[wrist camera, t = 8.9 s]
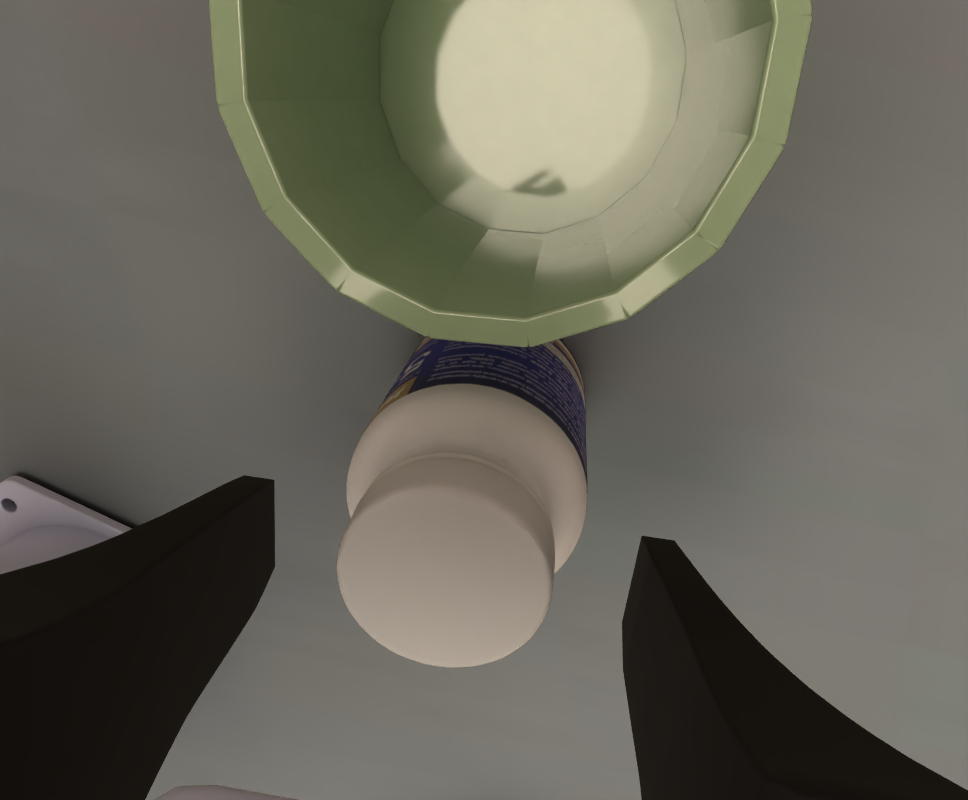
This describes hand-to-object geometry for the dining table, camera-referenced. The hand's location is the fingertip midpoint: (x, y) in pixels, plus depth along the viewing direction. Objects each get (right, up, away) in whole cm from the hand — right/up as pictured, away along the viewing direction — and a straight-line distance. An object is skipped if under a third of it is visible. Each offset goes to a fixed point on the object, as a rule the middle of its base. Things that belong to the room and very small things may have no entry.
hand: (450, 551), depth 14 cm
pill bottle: (+1, +3, +7) cm, 8 cm away
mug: (+2, +12, +3) cm, 13 cm away
